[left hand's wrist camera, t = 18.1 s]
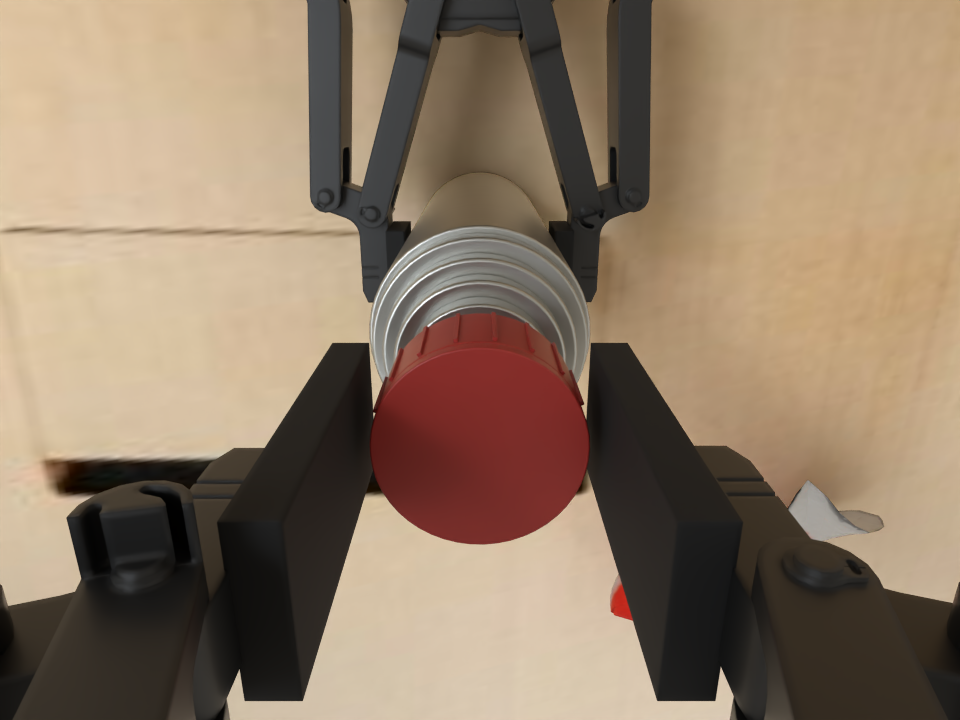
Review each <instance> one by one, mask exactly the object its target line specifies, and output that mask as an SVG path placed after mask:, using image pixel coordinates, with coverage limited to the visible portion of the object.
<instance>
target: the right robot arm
mask: <svg viewBox="0 0 960 720" xmlns="http://www.w3.org/2000/svg"><path fill="white" fill-rule="evenodd" d="M405 1H406V3H407V8H406V12H405V16H404V20H403V24H402V28H401V32H400V36H399V43H398V51H397V55H396V59H395V63H394V66H393V70H392V74H391V78H390V82H389V86H388V90H387V94H386V98H385V102H384V105H383V109H382V113H381V117H380V121H379V125H378V129H377V133H376V137H375V141H374V144H373V148H372V152H371V156H370V160H369V164H368V168H367V172H366V176H365V180H364V184H363V187H361V186H358V185H355V184H353V183H351V166H352V33H353V29H352V13H351V7H350V1H349V0H307V3H308V65H309V142H310V198H311V202H312V204H313V205H314V207H315V208H316V209H318V210H319V211H321V212H325V213H326V212H331V213H334V214H336V215H339V216H342V217H345V218H347V219H349V220H351V221H352V222H353V223H354V224H355V225H356V226H357V228H358V230H359V234H360V246H361V263H362V277H363V292H364V294H365V296H366V298H367V300H368V302H374V299H375V296H376V293H377V291H378V289H379V286H380V284H381V282H382V281H383V279H384V277H385V276H386V274H387V272H388V270H389V269H390V267H391V265H392V264H393V262H394V260H395V259H396V257H397V255H398V254H399V252H400V250H401V248H402V247H403V245H404V243H405V242H406V240H407V238H408V237H409V235H410V233H411V221H394V222H393V219H392V213H393V212H394V210H395V208H394V206H395V202H396V198H397V195H398V191H399V187H400V184H401V180H402V176H403V173H404V169H405V165H406V162H407V158H408V155H409V151H410V147H411V144H412V140H413V136H414V133H415V129H416V125H417V122H418V118H419V114H420V111H421V107H422V104H423V100H424V96H425V93H426V89H427V85H428V82H429V78H430V74H431V71H432V67H433V64H434V61H435V59H436V56H437V53H438V49H439V45H440V42H441V38H442V37H461V36H464V35H468V34H471V33H474V32H478V31H482V32H485V33H488V34H492V35H495V36H499V37H518V40H519V44H520V47H521V51H522V54H523V57H524V60H525V62H526V65H527V69H528V72H529V76H530V80H531V83H532V87H533V90H534V94H535V98H536V101H537V105H538V109H539V112H540V116H541V119H542V123H543V127H544V130H545V134H546V137H547V141H548V145H549V148H550V152H551V155H552V159H553V163H554V166H555V170H556V173H557V177H558V181H559V184H560V188H561V192H562V195H563V199H564V202H565V206H566V210H567V222H566V221H549V233H550V235H551V237H552V238H553V240H554V242H555V244H556V245H557V247H558V249H559V250H560V252H561V254H562V255H563V257H564V259H565V261H566V262H567V264H568V266H569V267H570V269H571V271H572V272H573V274H574V276H575V278H576V279H577V281H578V283H579V285H580V287H581V289H582V292H583V294H584V297H585V300H586V302H591V301H592V299H593V297H594V295H595V293H596V290H597V273H598V256H599V240H600V232H601V229H602V227H603V226H604V224H605V223H606V222H607V221H608V220H610V219H612V218H614V217H617V216H619V215H622V214H625V213H628V212H637V211H640V210H641V209H643V208H644V207H645V206H646V204H647V203H648V200H649V174H650V83H651V3H652V0H610V2H609V8H608V15H607V112H608V183H606V184H603V185H601V186H598V187H597V184H596V180H595V177H594V173H593V169H592V165H591V161H590V157H589V153H588V149H587V146H586V142H585V138H584V134H583V130H582V126H581V122H580V119H579V115H578V111H577V107H576V103H575V99H574V95H573V91H572V88H571V84H570V80H569V76H568V72H567V68H566V64H565V61H564V57H563V53H562V48H561V39H560V34H559V30H558V26H557V22H556V18H555V14H554V11H553V7H552V3H553V2H554V0H405Z"/></svg>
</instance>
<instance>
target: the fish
mask: <svg viewBox="0 0 960 720" xmlns="http://www.w3.org/2000/svg"><path fill="white" fill-rule="evenodd" d="M788 510H789V511H790V513H791V514H792V515H793V516H794V518H795V519H796V520H797V522H798V523H799V524H800V525H801V527H802V528H803V529H804V530H805V532H806V533H807V534H808V536H809V537H810V538H811V539H814V540H819V541H824V540H827V539H831V538H835V537H840V536H845V535H852V534H866V533H871V532H874V531H878V530H880V529H882V528H883V527H884V524H883V521H882V519H881V518H880V517H879V516H877V515H874V514H870V513H866V512H863V511H838V510H837V509H836V508H835V506H834V505H833V504H832V503H831V501H830V500H829V499H828V497H827V496H826V495H824V494H823V493H822V492H821V491H820V490H819V489H818V488H817V487H815V486H814V485H813V484H812V483H811V482H810V481H809V480H807V482H806V483H805V484H804V485H803V486H802V488H801V489H800V490H799V491H798V492H797V494H796V495H795V497H794V499H793V500H792V502H791V504H790V505H789V507H788ZM610 606H611V612H612V613H614V615H616V616H619V617H622V618H626V619H629V620H632V621H633V619H632V616H631V612H630V609H629V606H628V603H627V599H626V596H625V593H624V589H623V586H622V583H621V579H620V576H619V574H618V576H617V578H616V580H615V582H614V585H613V587H612V591H611V597H610Z"/></svg>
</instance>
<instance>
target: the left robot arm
mask: <svg viewBox="0 0 960 720" xmlns="http://www.w3.org/2000/svg"><path fill="white" fill-rule="evenodd" d="M373 420H374V419H373V402H372V386H371V369H370V352H369V343H332V345H331V346H330V348H329V349H328V351H327V353H326V354H325V356H324V357H323V359H322V360H321V362H320V363H319V365H318V366H317V368H316V370H315V371H314V373H313V374H312V376H311V377H310V379H309V380H308V382H307V383H306V385H305V387H304V388H303V390H302V391H301V393H300V394H299V396H298V397H297V399H296V400H295V402H294V404H293V405H292V407H291V408H290V410H289V411H288V413H287V414H286V416H285V417H284V419H283V421H282V422H281V424H280V425H279V427H278V428H277V430H276V431H275V433H274V434H273V436H272V438H271V439H270V441H269V442H268V444H267V445H266V447H265V448H234V449H232V450H230V451H229V452H227V453H226V454H224V455H222V456H221V457H219V458H218V459H216V460H214V461H213V462H211V463H210V464H209V465H208V467H207V468H206V469H205V471H204V472H203V473H202V474H201V476H200V477H199V478H198V480H197V484H194V485H193V486H192V487H191V489H190V490H189V489H187V488H186V487H185V486H183V485H182V484H178V483H174V482H169V481H141V482H136V483H131V484H126V485H121V486H118V487H115V488H112V489H110V490H107V491H104V492H101V493H99V494H96V495H95V496H93V497H91V498H90V499H88V500H86V501H85V502H83V503H81V504H79V505H78V506H77V507H76V508H75V509H74V510H73V511H72V512H71V513H70V514H69V515H68V517H67V522H68V526H69V530H70V534H71V538H72V542H73V546H74V550H75V554H76V558H77V563H78V567H79V571H80V575H81V581H80V583H79V585H78V587H77V589H76V591H75V592H73V593H69V594H65V595H61V596H56V597H51V598H46V599H41V600H36V601H31V602H26V603H22V604H17V605H12V606H8V605H7V601H6V598H5V595H4V591H3V588H2V585H0V720H230V717H229V710H228V704H227V696H228V694H229V692H230V690H231V687H232V685H233V683H234V680H235V678H236V676H237V673H238V671H239V669H240V674H241V680H242V687H243V693H244V699H245V701H303V698H304V695H305V692H306V688H307V685H308V682H309V678H310V675H311V672H312V669H313V665H314V662H315V659H316V655H317V652H318V649H319V645H320V642H321V639H322V636H323V632H324V629H325V626H326V622H327V619H328V616H329V612H330V609H331V606H332V603H333V599H334V596H335V593H336V589H337V586H338V583H339V579H340V576H341V573H342V569H343V566H344V563H345V560H346V556H347V553H348V550H349V546H350V543H351V540H352V536H353V533H354V530H355V527H356V523H357V520H358V517H359V513H360V510H361V507H362V503H363V500H364V497H365V494H366V490H367V487H368V484H369V480H370V477H371V474H372V470H373V468H372V463H371V458H370V434H371V427H372V424H373ZM586 421H587V426H588V431H589V434H590V452H589V461H588V465H587V470H588V474H589V477H590V480H591V484H592V487H593V490H594V494H595V497H596V500H597V503H598V507H599V510H600V513H601V517H602V520H603V523H604V527H605V530H606V533H607V536H608V540H609V543H610V546H611V550H612V553H613V556H614V560H615V563H616V566H617V569H618V573H619V576H620V579H621V583H622V586H623V589H624V593H625V596H626V599H627V603H628V606H629V609H630V612H631V616H632V619H633V622H634V626H635V629H636V632H637V636H638V639H639V642H640V645H641V649H642V652H643V655H644V659H645V662H646V665H647V669H648V672H649V675H650V678H651V682H652V685H653V688H654V692H655V695H656V698H657V701H715V700H716V693H717V687H718V680H719V674H720V668H722V670H723V672H724V675H725V677H726V679H727V681H728V684H729V686H730V688H731V691H732V693H733V695H734V698H733V704H732V710H731V716H730V720H960V582H959V584H958V588H957V591H956V595H955V598H954V601H953V603H949V602H944V601H939V600H934V599H929V598H924V597H919V596H914V595H909V594H904V593H899V592H895V591H892V590H888V589H884V588H883V586H882V584H881V582H880V580H879V578H878V577H877V575H876V574H875V573H874V572H873V570H872V569H871V568H870V567H869V565H868V564H866V563H865V562H864V561H862V560H861V559H859V558H858V557H856V556H855V555H853V554H852V553H851V552H849V551H846V550H844V549H842V548H839V547H837V546H835V545H832V544H830V543H827V542H823V541H819V540H814V539H811V538H810V537H809V536H808V534H807V533H806V532H805V530H804V529H803V528H802V527H801V525H800V524H799V523H798V522H797V520H796V519H795V518H794V516H793V515H792V514H791V513H790V511H789V510H788V509H787V507H786V506H785V505H784V504H783V502H782V501H781V500H780V498H779V497H778V496H775V492H774V491H773V490H772V488H771V487H770V486H769V484H768V483H767V482H764V478H763V477H762V475H761V474H760V473H759V472H758V470H757V469H756V468H755V466H754V465H753V464H752V463H751V461H750V460H748V459H746V458H745V457H743V456H742V455H740V454H738V453H737V452H735V451H734V450H732V449H730V448H729V447H727V446H694V445H693V444H692V442H691V441H690V439H689V438H688V436H687V434H686V433H685V431H684V430H683V428H682V427H681V425H680V424H679V422H678V421H677V419H676V417H675V416H674V414H673V413H672V411H671V410H670V408H669V407H668V405H667V404H666V402H665V400H664V399H663V397H662V396H661V394H660V393H659V391H658V390H657V388H656V387H655V385H654V383H653V382H652V380H651V379H650V377H649V376H648V374H647V373H646V371H645V370H644V368H643V366H642V365H641V363H640V362H639V360H638V359H637V357H636V356H635V354H634V353H633V351H632V349H631V348H630V346H629V345H628V343H591V352H590V369H589V386H588V403H587V419H586Z"/></svg>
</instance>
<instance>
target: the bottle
mask: <svg viewBox="0 0 960 720" xmlns="http://www.w3.org/2000/svg"><path fill="white" fill-rule="evenodd" d="M492 312H496V315H501V316H505V317H508V318H512V319H515V320H517V321H520V322H522V323H524V324H525V322H527V323H529V325H530V327H531V328H533V329H535V330H536V331H538V332H539V333H540V334H542V335H543V336H544V337H545V338H547V339H548V340H549V342H550V343H551V344H552V343H553V342H554V343H555V344H556V346H557V349H558V352H559V353H560V355H561V356H562V358H563V360H564V361H565V363H566V365H567V367H568V370H572V372H573V374H574V377H575V380H576V383H577V382H578V380H579V378H580V375H581V373H582V370H583V367H584V364H585V361H586V357H587V353H588V349H589V341H590V318H589V312H588V307H587V303H586V300H585V297H584V294H583V292H582V289H581V287H580V285H579V283H578V281H577V279H576V278H575V276H574V274H573V272H572V271H571V269H570V267H569V266H568V264H567V262H566V261H565V259H564V257H563V255H562V254H561V252H560V250H559V249H558V247H557V245H556V244H555V242H554V240H553V238H552V237H551V235H550V233H549V232H548V230H547V228H546V227H545V225H544V223H543V221H542V220H541V218H540V216H539V215H538V213H537V211H536V210H535V208H534V206H533V204H532V203H531V201H530V200H529V198H528V197H527V195H526V194H525V193H524V192H523V191H522V190H521V189H520V188H519V187H518V186H517V185H516V184H514V183H513V182H511V181H510V180H508V179H506V178H504V177H502V176H499V175H496V174H491V173H483V172H476V173H469V174H464V175H461V176H458V177H456V178H454V179H452V180H450V181H448V182H447V183H446V184H444V185H443V186H442V187H441V188H440V189H438V190H437V191H436V193H435V194H434V195H433V196H432V198H431V199H430V201H429V203H428V204H427V206H426V208H425V209H424V211H423V213H422V214H421V216H420V218H419V220H418V221H417V223H416V225H415V226H414V228H413V230H412V231H411V233H410V235H409V237H408V238H407V240H406V242H405V243H404V245H403V247H402V248H401V250H400V252H399V254H398V255H397V257H396V259H395V260H394V262H393V264H392V265H391V267H390V269H389V270H388V272H387V274H386V276H385V277H384V279H383V281H382V282H381V284H380V286H379V289H378V291H377V293H376V296H375V299H374V302H373V306H372V310H371V317H370V324H369V325H370V344H371V351H372V355H373V358H374V362H375V365H376V368H377V371H378V374H379V376H380V378H381V381H382V383H383V382H384V379H385V376H386V377H388V376H389V374H390V371H391V369H392V366H393V364H394V362H395V360H396V357H397V354H398V351H399V349H400V348H402V349H404V348H405V346H406V345H407V344H408V343H409V342H410V341H411V340H412V339H413V338H414V337H415V336H416V335H418V334H419V333H421V332H422V331H423V328H424V327H425V326H428V327H430V326H432V325H434V324H435V323H437V322H440V321H442V320H445V319H448V318H450V317H455V316H456V314H458V313H460V315H464V314H474V313H484V314H491V313H492Z"/></svg>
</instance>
